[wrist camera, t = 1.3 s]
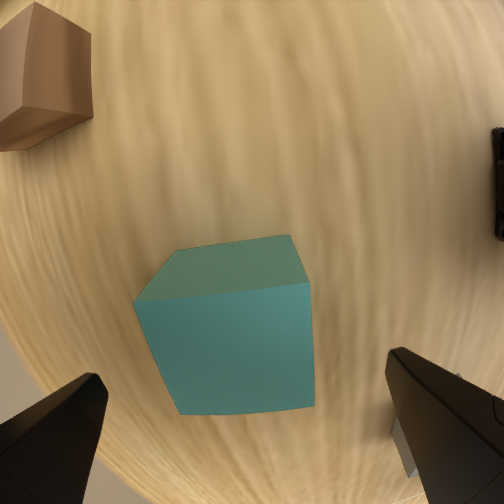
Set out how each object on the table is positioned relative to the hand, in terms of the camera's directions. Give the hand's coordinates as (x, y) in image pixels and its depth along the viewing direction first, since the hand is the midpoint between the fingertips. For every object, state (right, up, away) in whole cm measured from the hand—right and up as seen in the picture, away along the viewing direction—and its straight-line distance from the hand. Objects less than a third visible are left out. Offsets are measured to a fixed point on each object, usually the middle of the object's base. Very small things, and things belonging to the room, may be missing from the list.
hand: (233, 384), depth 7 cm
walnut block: (-10, +12, +3) cm, 16 cm away
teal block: (0, +2, +6) cm, 6 cm away
